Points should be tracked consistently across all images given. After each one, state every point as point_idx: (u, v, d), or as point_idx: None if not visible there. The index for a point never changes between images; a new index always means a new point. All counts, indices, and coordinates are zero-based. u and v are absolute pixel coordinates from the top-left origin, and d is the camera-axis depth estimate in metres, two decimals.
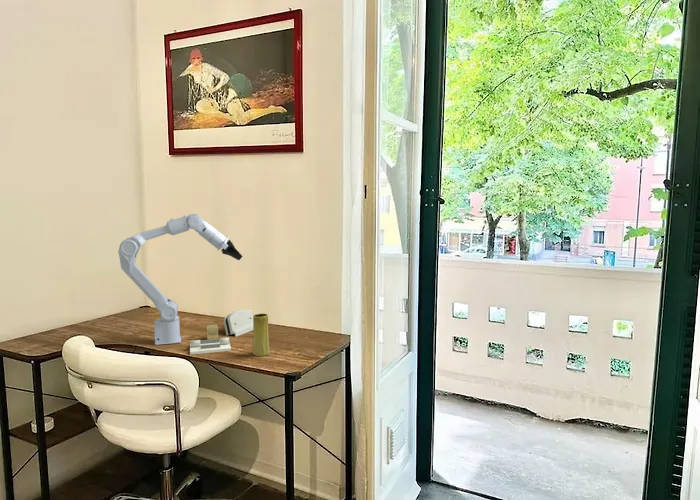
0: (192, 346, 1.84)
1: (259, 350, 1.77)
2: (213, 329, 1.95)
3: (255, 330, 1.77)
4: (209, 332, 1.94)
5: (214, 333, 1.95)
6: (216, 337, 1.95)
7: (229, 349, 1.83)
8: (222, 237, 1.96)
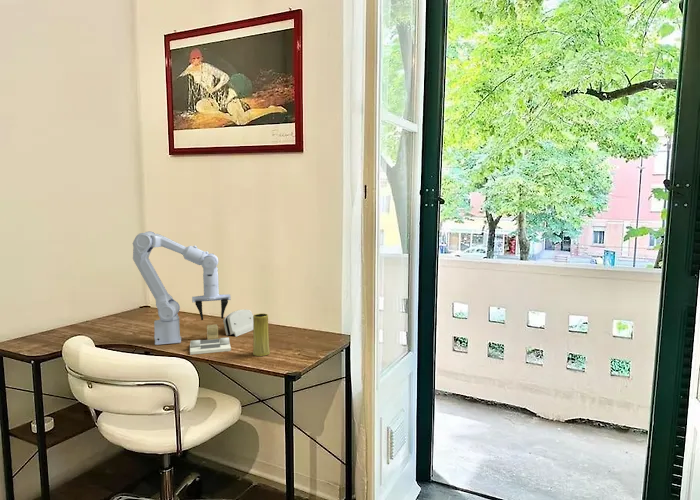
0: (192, 346, 1.84)
1: (259, 350, 1.77)
2: (213, 329, 1.95)
3: (255, 330, 1.77)
4: (209, 332, 1.94)
5: (214, 333, 1.95)
6: (216, 337, 1.95)
7: (229, 349, 1.83)
8: (206, 293, 1.93)
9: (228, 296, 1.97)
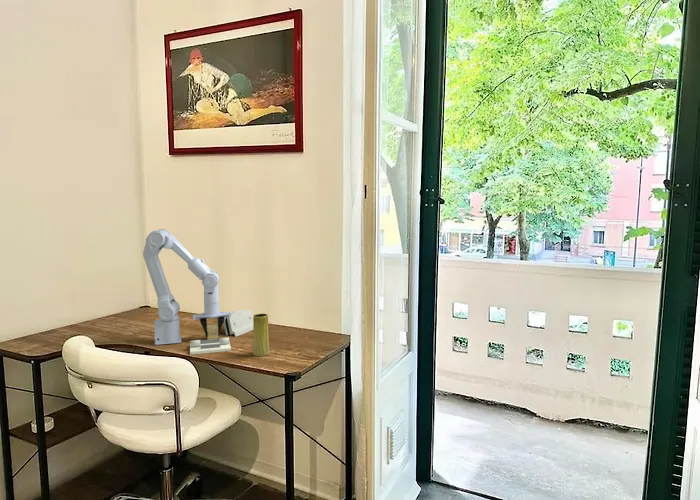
0: (192, 346, 1.84)
1: (259, 350, 1.77)
2: (213, 329, 1.95)
3: (255, 330, 1.77)
4: (209, 332, 1.94)
5: (214, 333, 1.95)
6: (216, 337, 1.95)
7: (229, 349, 1.83)
8: (206, 311, 1.94)
9: (228, 314, 1.98)
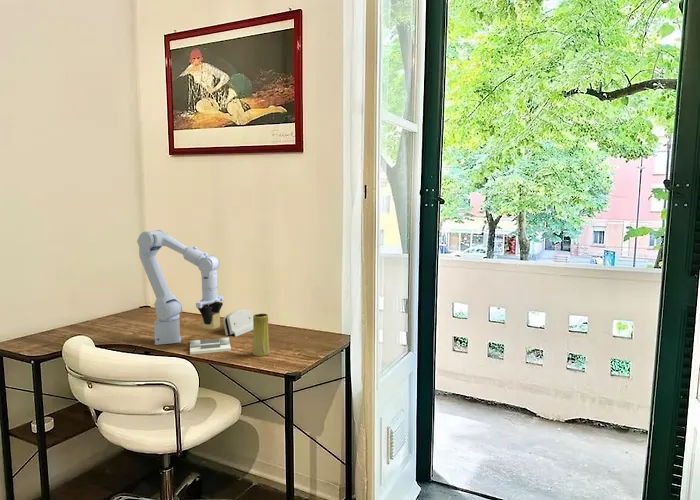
0: (192, 346, 1.84)
1: (259, 350, 1.77)
2: (216, 315, 1.90)
3: (255, 330, 1.77)
4: (214, 318, 1.89)
5: (217, 319, 1.90)
6: (218, 322, 1.91)
7: (229, 349, 1.83)
8: (211, 296, 1.87)
9: (222, 297, 1.96)
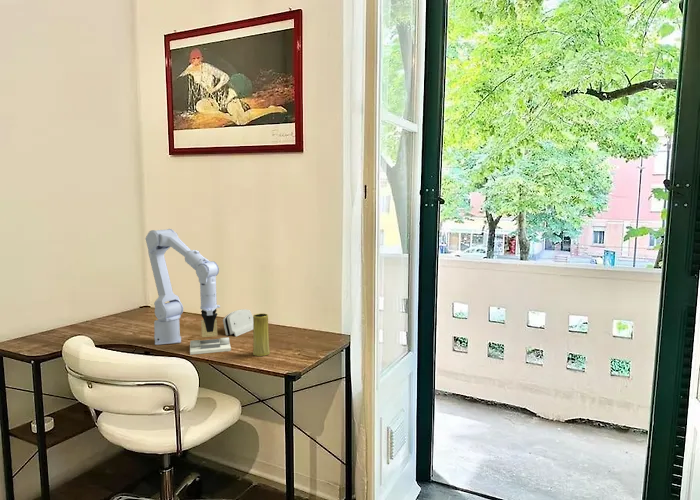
0: (192, 346, 1.84)
1: (259, 350, 1.77)
2: (216, 321, 1.87)
3: (255, 330, 1.77)
4: (216, 325, 1.85)
5: None
6: None
7: (229, 349, 1.83)
8: (214, 303, 1.84)
9: None
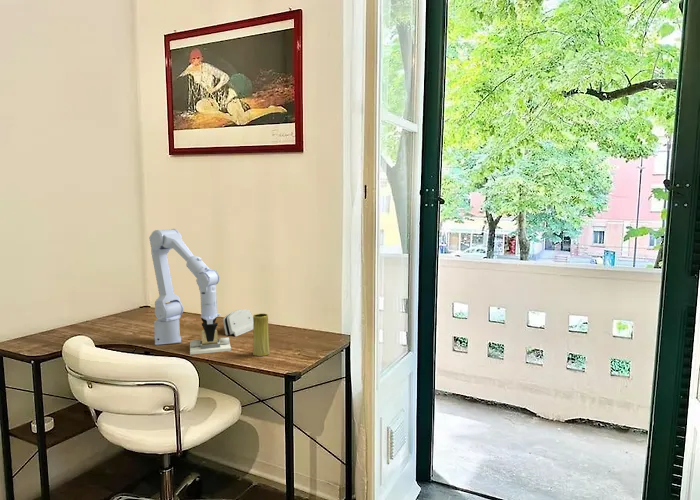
0: (192, 346, 1.84)
1: (259, 350, 1.77)
2: (216, 331, 1.87)
3: (255, 330, 1.77)
4: None
5: None
6: None
7: (229, 349, 1.83)
8: (214, 311, 1.84)
9: None
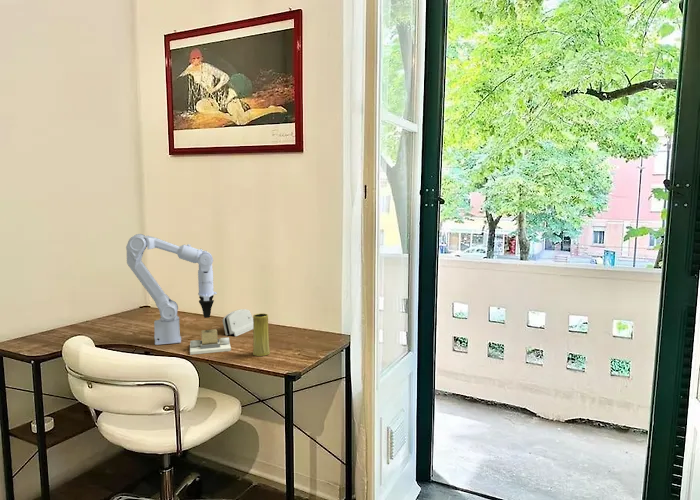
0: (192, 346, 1.84)
1: (259, 350, 1.77)
2: (216, 331, 1.87)
3: (255, 330, 1.77)
4: None
5: None
6: None
7: (229, 349, 1.83)
8: (211, 290, 1.96)
9: None
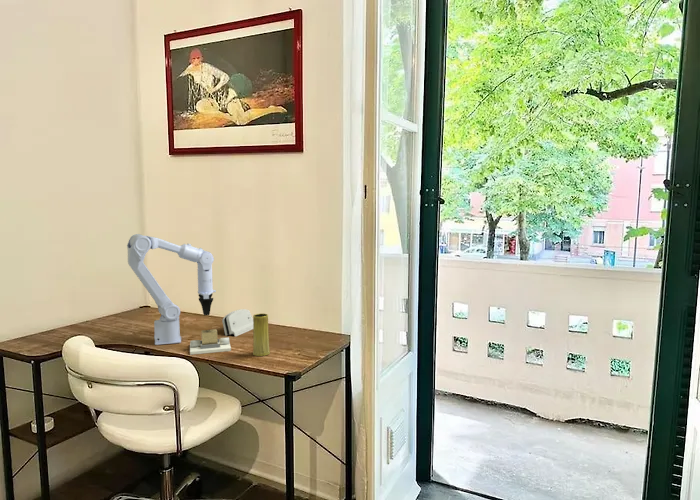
0: (192, 346, 1.84)
1: (259, 350, 1.77)
2: (216, 331, 1.87)
3: (255, 330, 1.77)
4: None
5: None
6: None
7: (229, 349, 1.83)
8: (210, 288, 2.00)
9: None
